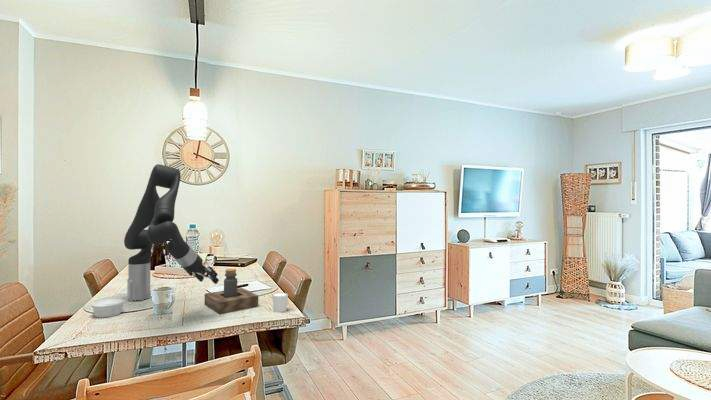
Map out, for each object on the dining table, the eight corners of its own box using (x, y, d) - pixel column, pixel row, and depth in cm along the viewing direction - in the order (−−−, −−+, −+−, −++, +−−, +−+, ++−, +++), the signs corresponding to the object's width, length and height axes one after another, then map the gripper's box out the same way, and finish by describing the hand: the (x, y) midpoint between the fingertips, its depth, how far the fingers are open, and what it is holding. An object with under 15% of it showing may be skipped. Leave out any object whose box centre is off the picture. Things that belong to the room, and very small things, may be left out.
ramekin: (89, 320, 150) (89, 307, 150) (94, 312, 160) (94, 300, 160) (122, 316, 155) (122, 303, 155) (124, 309, 165) (124, 297, 165)
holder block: (219, 314, 159) (219, 302, 159) (204, 304, 172) (204, 293, 172) (258, 306, 171) (258, 295, 170) (241, 297, 184) (241, 287, 184)
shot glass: (290, 308, 168) (290, 293, 167) (282, 313, 161) (283, 297, 161) (277, 307, 170) (277, 291, 170) (269, 311, 163) (269, 295, 163)
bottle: (225, 300, 174) (225, 268, 174) (238, 300, 174) (238, 268, 174) (222, 304, 168) (222, 271, 168) (235, 304, 169) (235, 271, 168)
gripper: (206, 252, 150) (226, 275, 161) (181, 249, 156) (202, 271, 167) (195, 268, 145) (217, 290, 156) (170, 264, 151) (192, 286, 162)
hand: (209, 280), depth 161 cm, fingers open, 8 cm apart
